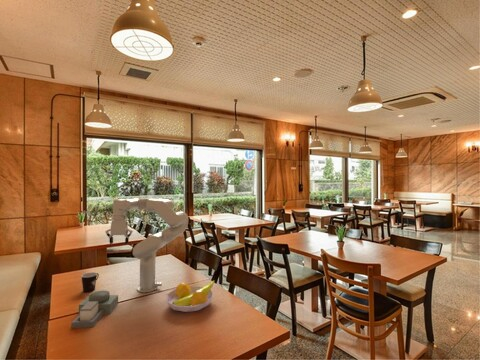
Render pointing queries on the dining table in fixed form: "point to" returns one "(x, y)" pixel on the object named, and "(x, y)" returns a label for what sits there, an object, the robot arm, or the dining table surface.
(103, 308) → the domed grey panel
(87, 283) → the coffee mug
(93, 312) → the grey bevelled box
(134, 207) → the robot arm
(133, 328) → the dining table surface
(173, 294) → the fruit bowl
